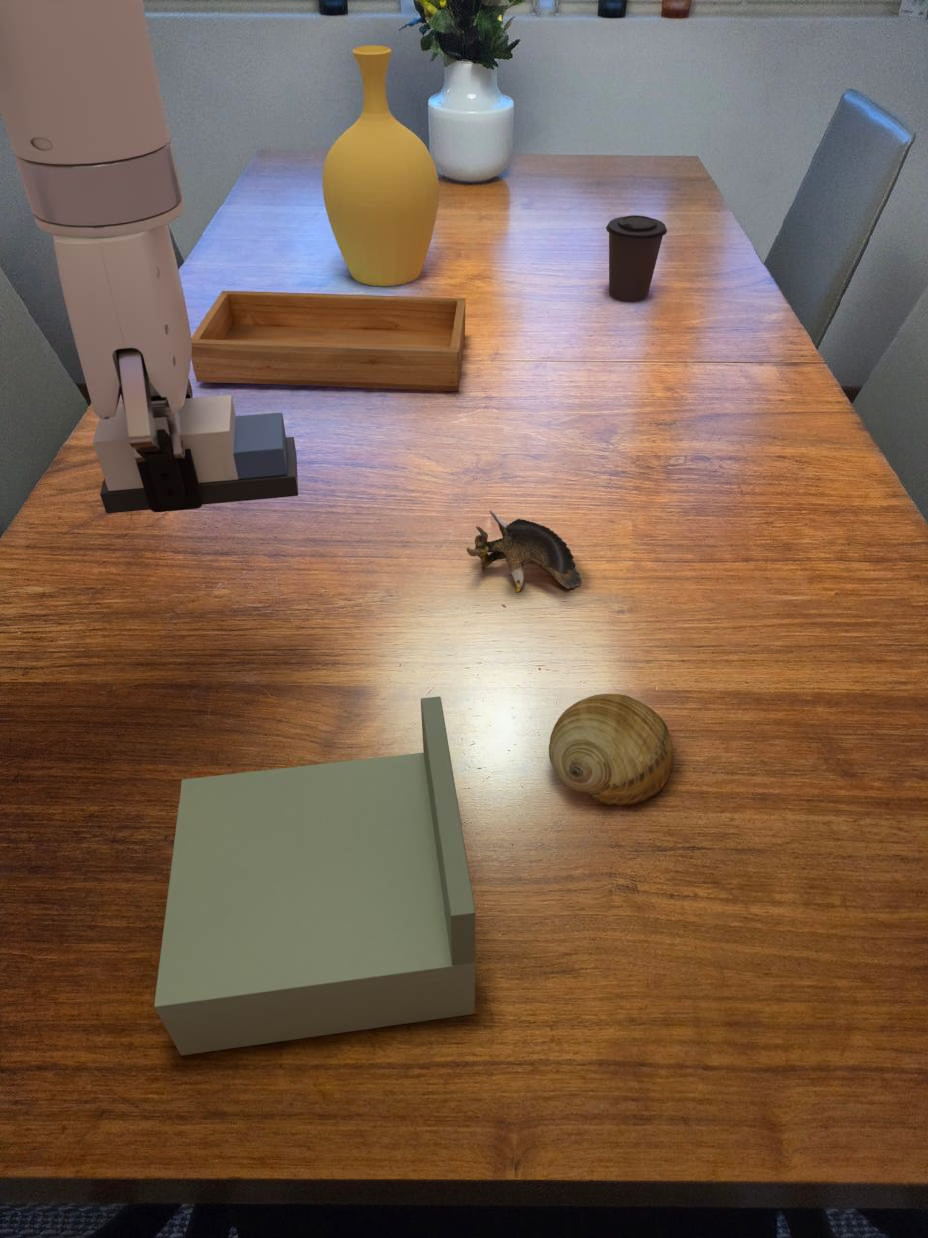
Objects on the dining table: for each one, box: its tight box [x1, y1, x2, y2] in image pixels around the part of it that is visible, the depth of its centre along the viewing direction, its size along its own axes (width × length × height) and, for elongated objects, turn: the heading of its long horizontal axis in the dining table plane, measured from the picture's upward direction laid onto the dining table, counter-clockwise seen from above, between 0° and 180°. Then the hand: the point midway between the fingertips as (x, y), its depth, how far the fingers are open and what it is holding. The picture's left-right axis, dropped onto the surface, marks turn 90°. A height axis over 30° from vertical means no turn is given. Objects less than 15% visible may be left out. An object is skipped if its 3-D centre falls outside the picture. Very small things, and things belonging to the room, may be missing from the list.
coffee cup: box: [605, 214, 668, 303], centre depth 119 cm, size 8×8×10 cm
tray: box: [191, 290, 466, 392], centre depth 106 cm, size 31×15×6 cm, turn 87°
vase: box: [321, 44, 440, 287], centre depth 119 cm, size 16×16×28 cm
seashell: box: [548, 693, 674, 807], centre depth 60 cm, size 10×7×8 cm
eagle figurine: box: [465, 509, 582, 593], centre depth 75 cm, size 8×7×9 cm
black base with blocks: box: [92, 394, 299, 515], centre depth 56 cm, size 12×5×5 cm, turn 99°
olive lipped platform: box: [153, 695, 477, 1056], centre depth 49 cm, size 16×14×11 cm
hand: (180, 480), depth 57 cm, fingers closed on black base with blocks, 5 cm apart
